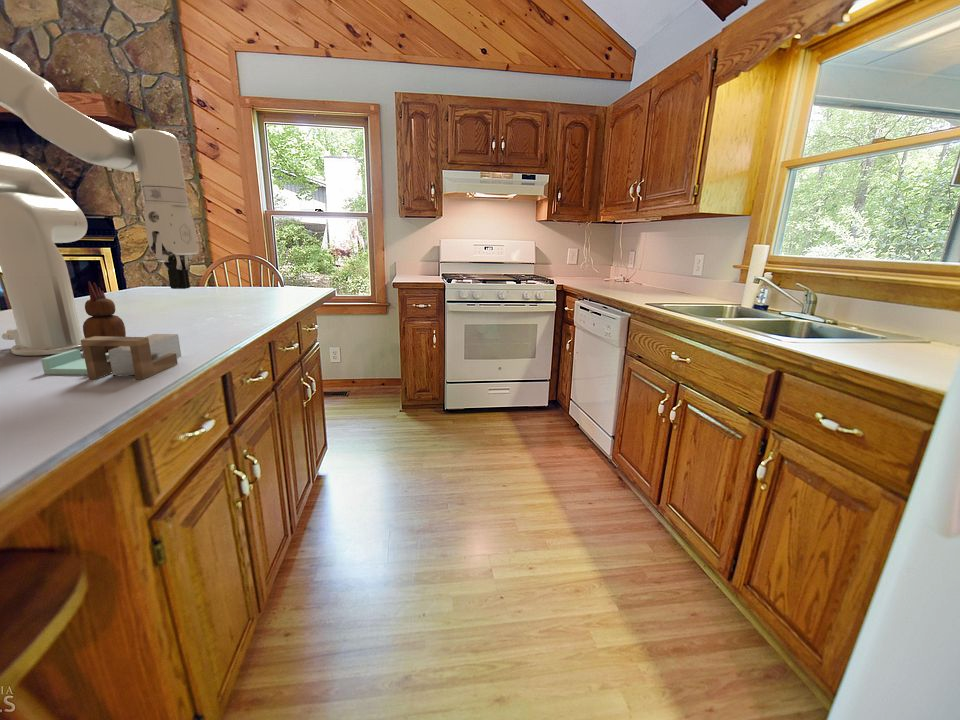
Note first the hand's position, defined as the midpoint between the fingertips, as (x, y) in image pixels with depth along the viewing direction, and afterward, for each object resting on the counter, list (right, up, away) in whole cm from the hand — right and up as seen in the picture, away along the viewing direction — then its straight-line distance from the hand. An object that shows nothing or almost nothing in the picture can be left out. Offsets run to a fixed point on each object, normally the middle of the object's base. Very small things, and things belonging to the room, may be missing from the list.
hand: (180, 288), depth 92 cm
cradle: (-9, -17, -12) cm, 23 cm away
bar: (0, -14, -9) cm, 17 cm away
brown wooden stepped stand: (0, -18, -12) cm, 21 cm away
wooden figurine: (-16, -14, +1) cm, 21 cm away
